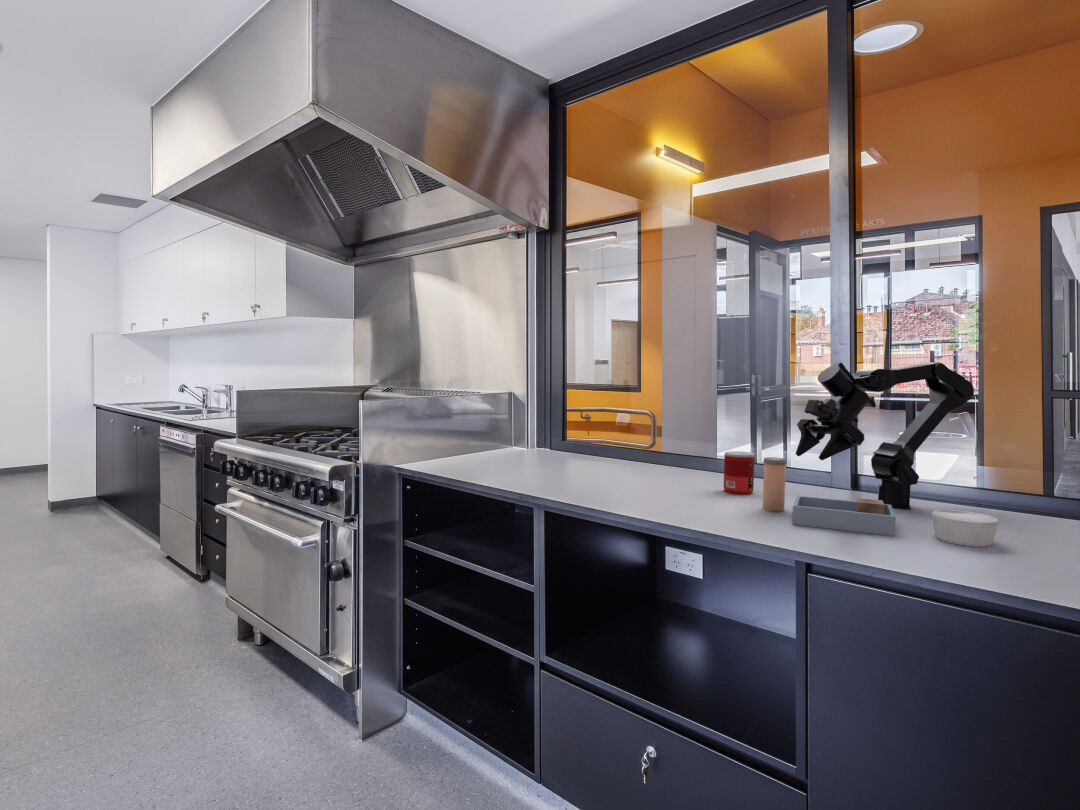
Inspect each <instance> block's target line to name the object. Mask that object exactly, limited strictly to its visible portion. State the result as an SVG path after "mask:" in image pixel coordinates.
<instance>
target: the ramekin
mask: <svg viewBox="0 0 1080 810" xmlns="http://www.w3.org/2000/svg"><path fill="white" fill-rule="evenodd" d="M931 518H932V523H933V531H934V535H935V536H936V538H937V539H938V538H939V539H938V540H940V539H941V540H940V541H942V540H943V541H942V542H945V541H946V542H945V543H948V542H949V544H952V543H953V544H952V545H956V544H958V546H962V545H965V546H964V547H970V546H973V548H986V546H987V547H989V546H991V545H992V544H994V541H995V538H996V533H997V528H998V526H1000V520H999V519H998V518H997V517H994V516H992V515H988V514H984V513H977V512H975V511H974V512H972V511H966V510H957V509H955V510H954V509H937V510H936V509H935V510H933V511H932V512H931Z"/></svg>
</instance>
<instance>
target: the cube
mask: <svg viewBox="0 0 1080 810" xmlns="http://www.w3.org/2000/svg"><path fill="white" fill-rule="evenodd" d="M856 501H857V512H863V513H872V514H882V515H884V503H883V500H878V499H872V498H871V499H870V498H861V497H857V498H856Z"/></svg>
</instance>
